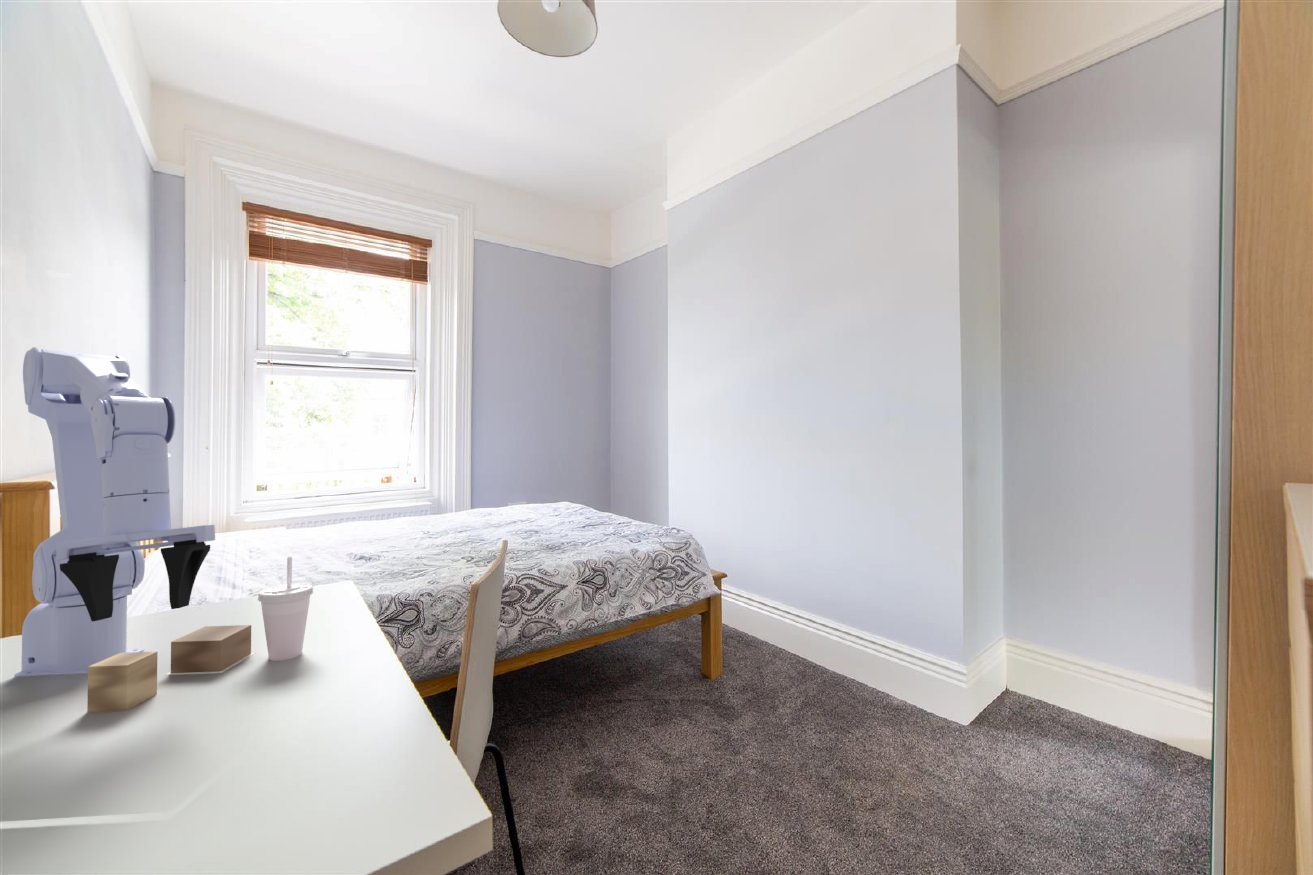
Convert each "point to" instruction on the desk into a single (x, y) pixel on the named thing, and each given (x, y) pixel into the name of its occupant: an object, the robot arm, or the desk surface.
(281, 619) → the smoothie
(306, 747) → the desk surface
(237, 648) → the walnut block
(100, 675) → the oak block
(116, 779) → the desk surface
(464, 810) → the desk surface
